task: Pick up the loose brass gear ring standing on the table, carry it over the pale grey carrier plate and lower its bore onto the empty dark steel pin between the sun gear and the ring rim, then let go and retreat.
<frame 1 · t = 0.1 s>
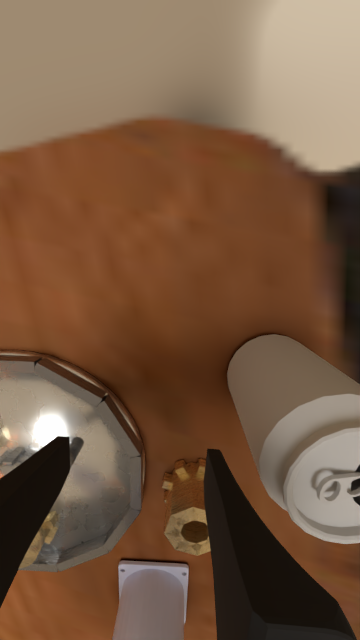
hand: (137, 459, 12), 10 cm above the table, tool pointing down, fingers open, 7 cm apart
can: (265, 369, 22), on the table
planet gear: (193, 483, 25), on the table
carrier: (29, 459, 25), on the table
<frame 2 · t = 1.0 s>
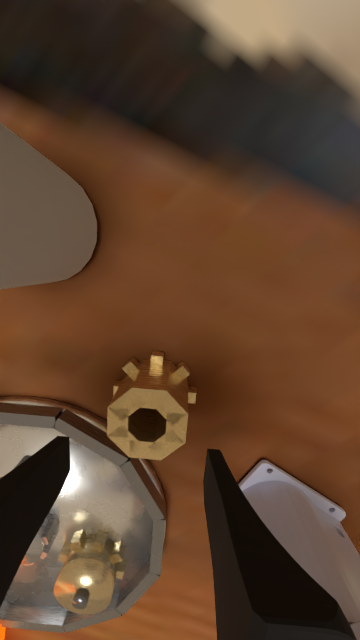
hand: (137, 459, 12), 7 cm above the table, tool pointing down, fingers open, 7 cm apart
can: (51, 228, 17), on the table
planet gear: (156, 388, 19), on the table
carrier: (40, 510, 23), on the table
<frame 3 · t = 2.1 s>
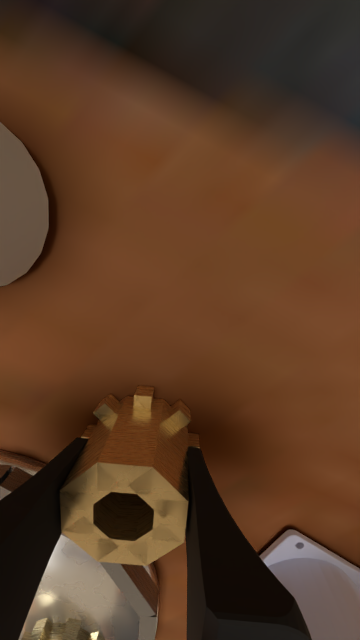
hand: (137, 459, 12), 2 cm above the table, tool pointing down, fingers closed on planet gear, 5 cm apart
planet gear: (143, 435, 14), on the table, touching gripper
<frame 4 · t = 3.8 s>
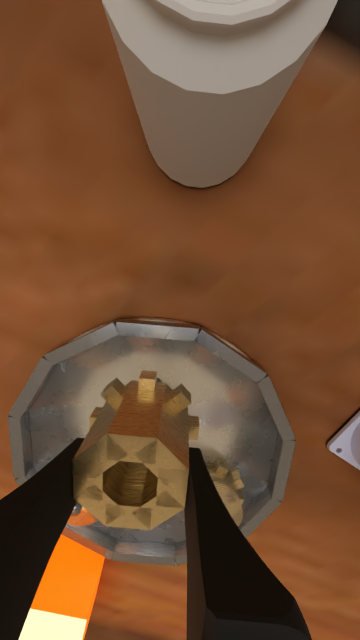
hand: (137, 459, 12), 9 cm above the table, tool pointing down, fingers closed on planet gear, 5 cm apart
can: (200, 134, 17), on the table
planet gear: (146, 417, 15), point 6 cm above the table, touching gripper
carrier: (152, 441, 22), on the table
orange juice: (70, 558, 26), on the table
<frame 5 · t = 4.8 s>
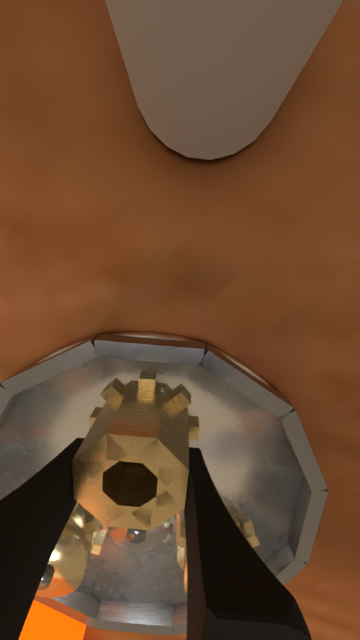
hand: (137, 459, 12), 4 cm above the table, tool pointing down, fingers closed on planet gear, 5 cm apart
can: (207, 88, 12), on the table
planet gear: (146, 417, 15), point 2 cm above the table, touching gripper
carrier: (145, 483, 18), on the table
orange juice: (47, 615, 22), on the table
when the fingers open (4 cm above the table, at t = 5.5 s): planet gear stays where it is, resting on carrier.
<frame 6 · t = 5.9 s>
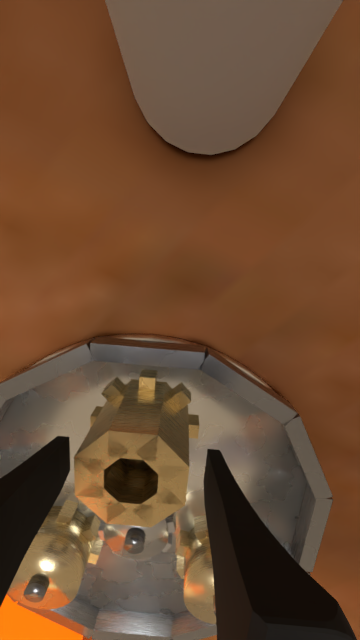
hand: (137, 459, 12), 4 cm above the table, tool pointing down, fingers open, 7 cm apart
can: (207, 80, 12), on the table
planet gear: (147, 416, 15), point 1 cm above the table, touching carrier
carrier: (144, 490, 18), on the table
orange juice: (43, 624, 22), on the table
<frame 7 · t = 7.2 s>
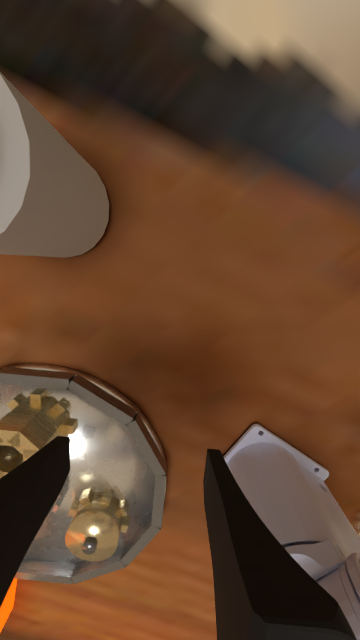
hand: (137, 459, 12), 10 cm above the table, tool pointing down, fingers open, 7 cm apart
can: (67, 209, 19), on the table
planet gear: (43, 419, 22), point 1 cm above the table, touching carrier
carrier: (51, 471, 25), on the table
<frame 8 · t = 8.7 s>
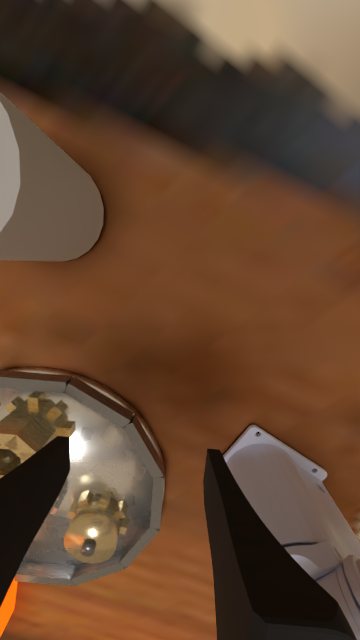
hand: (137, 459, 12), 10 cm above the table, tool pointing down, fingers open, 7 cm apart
can: (62, 213, 19), on the table
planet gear: (41, 422, 22), point 1 cm above the table, touching carrier
carrier: (50, 473, 25), on the table
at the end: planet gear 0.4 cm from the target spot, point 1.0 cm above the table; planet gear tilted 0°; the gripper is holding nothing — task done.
